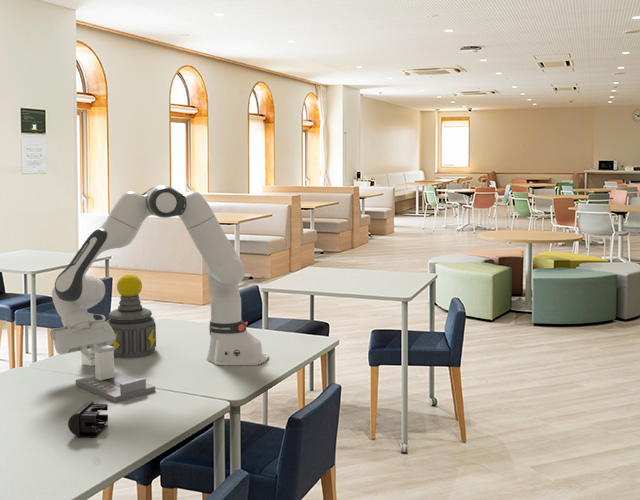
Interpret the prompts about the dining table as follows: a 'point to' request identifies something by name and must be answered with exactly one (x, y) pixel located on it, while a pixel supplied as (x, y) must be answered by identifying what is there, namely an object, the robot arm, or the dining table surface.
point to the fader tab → (104, 362)
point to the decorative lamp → (132, 321)
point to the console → (116, 386)
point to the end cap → (88, 420)
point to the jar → (88, 362)
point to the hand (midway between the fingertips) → (93, 358)
